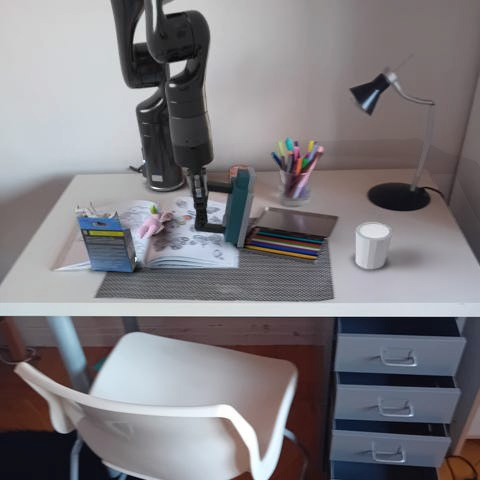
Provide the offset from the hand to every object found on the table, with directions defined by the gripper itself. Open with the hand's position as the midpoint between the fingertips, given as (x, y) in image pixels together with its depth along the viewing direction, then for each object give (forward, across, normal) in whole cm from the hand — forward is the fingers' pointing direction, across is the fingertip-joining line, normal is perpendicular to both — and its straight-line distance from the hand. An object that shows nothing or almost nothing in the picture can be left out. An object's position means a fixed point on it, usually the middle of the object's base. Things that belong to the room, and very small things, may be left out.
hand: (202, 219), depth 104 cm
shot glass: (+7, +13, +32) cm, 35 cm away
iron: (-2, 0, +10) cm, 10 cm away
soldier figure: (+6, -15, -24) cm, 29 cm away
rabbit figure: (+6, -7, -11) cm, 14 cm away
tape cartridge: (+6, +5, -19) cm, 21 cm away
